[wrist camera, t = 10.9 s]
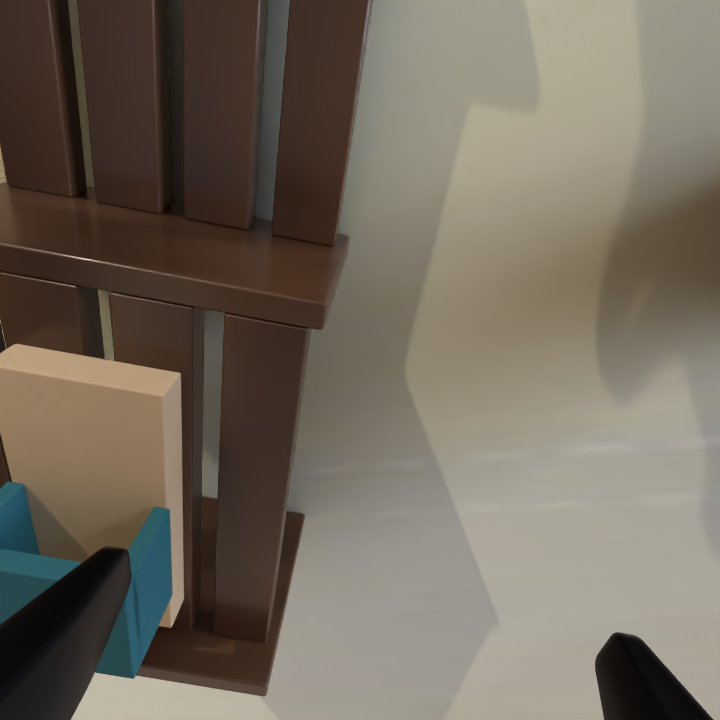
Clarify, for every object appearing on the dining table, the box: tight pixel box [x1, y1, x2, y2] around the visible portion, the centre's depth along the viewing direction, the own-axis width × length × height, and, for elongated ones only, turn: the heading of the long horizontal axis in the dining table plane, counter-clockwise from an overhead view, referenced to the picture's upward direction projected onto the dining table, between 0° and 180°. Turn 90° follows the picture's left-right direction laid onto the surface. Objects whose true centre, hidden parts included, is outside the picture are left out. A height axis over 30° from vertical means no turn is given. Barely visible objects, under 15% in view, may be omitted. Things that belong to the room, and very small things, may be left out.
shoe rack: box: [0, 0, 373, 696], centre depth 14 cm, size 12×31×8 cm, turn 170°
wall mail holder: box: [0, 344, 184, 678], centre depth 14 cm, size 5×10×4 cm, turn 170°
